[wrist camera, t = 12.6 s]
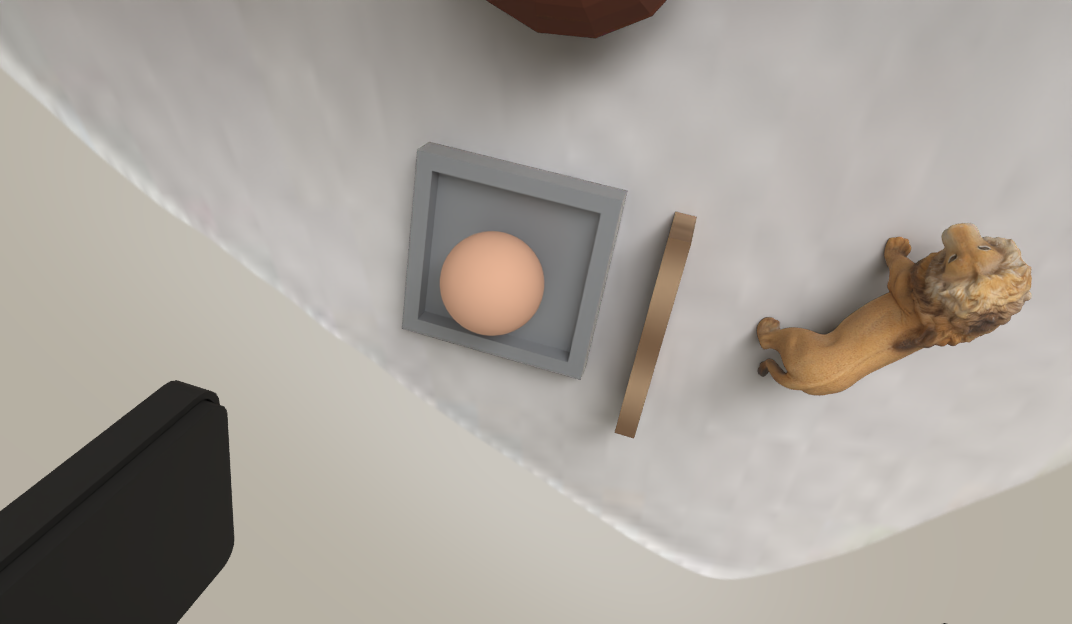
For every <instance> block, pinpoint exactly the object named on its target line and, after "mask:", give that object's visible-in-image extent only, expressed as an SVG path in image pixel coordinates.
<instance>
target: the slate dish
mask: <svg viewBox="0 0 1072 624" xmlns="http://www.w3.org/2000/svg"><path fill="white" fill-rule="evenodd" d="M626 195H627V191H626V190H622V189H618V188H614V187H609V186H605V185H601V184H597V183H593V182H589V181H585V180H581V179H577V178H573V177H569V176H565V175H561V174H557V173H553V172H549V171H545V170H541V169H537V168H533V167H529V166H524V165H520V164H516V163H512V162H508V161H504V160H500V159H496V158H492V157H488V156H484V155H480V154H476V153H472V152H468V151H464V150H460V149H456V148H452V147H448V146H444V145H440V144H435V143H431V142H429V143H427V144H426V145H424V146H422V147H421V148H419V149H418V150H417V160H416V171H415V183H414V195H413V207H412V218H411V230H410V242H409V253H408V265H407V277H406V288H405V300H404V312H403V323H402V329H405V330H409V331H412V332H416V333H419V334H423V335H426V336H430V337H433V338H437V339H440V340H444V341H447V342H450V343H454V344H457V345H461V346H464V347H468V348H471V349H475V350H478V351H482V352H485V353H489V354H492V355H496V356H499V357H502V358H506V359H509V360H513V361H516V362H520V363H523V364H527V365H530V366H534V367H537V368H541V369H544V370H548V371H551V372H554V373H558V374H561V375H565V376H568V377H572V378H575V379H579V380H581V377H582V375H583V372H584V369H585V367H586V364H587V360H588V355H589V351H590V347H591V343H592V338H593V334H594V330H595V326H596V322H597V317H598V313H599V309H600V305H601V301H602V296H603V292H604V288H605V284H606V279H607V275H608V271H609V267H610V263H611V258H612V254H613V250H614V246H615V242H616V237H617V233H618V229H619V225H620V221H621V216H622V212H623V208H624V204H625V199H626ZM486 231H498V232H504V233H507V234H510V235H513V236H515V237H517V238H519V239H520V240H522V241H523V242H524V243H526V244H527V245H528V246H529V247H530V248H531V249H532V250H533V252H534V253H535V255H536V256H537V258H538V259H539V262H540V264H541V266H542V270H543V275H544V293H543V297H542V301H541V303H540V305H539V307H538V309H537V311H536V313H535V314H534V315H533V317H532V318H531V319H530V320H529V321H528V322H527V323H526V324H524V325H523V326H522V327H520V328H519V329H517V330H515V331H512V332H510V333H507V334H503V335H496V336H488V335H481V334H477V333H474V332H472V331H470V330H467V329H466V328H464V327H462V326H461V325H460V324H459V323H457V322H456V321H455V320H454V319H453V317H452V316H451V315H450V314H449V312H448V311H447V309H446V307H445V305H444V303H443V300H442V297H441V292H440V275H441V270H442V267H443V264H444V262H445V260H446V258H447V256H448V254H449V253H450V252H451V250H452V249H453V248H454V247H455V246H456V245H457V244H458V243H460V242H461V241H462V240H464V239H465V238H467V237H469V236H471V235H474V234H477V233H480V232H486Z"/></svg>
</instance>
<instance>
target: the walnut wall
mask: <svg viewBox="0 0 1072 624" xmlns="http://www.w3.org/2000/svg"><path fill="white" fill-rule="evenodd" d="M696 218H697V217H695V216H691V215H687V214H683V213H679V212H675V216H674V219H673V223H672V226H671V230H670V233H669V237H668V241H667V244H666V248H665V251H664V255H663V259H662V262H661V266H660V270H659V273H658V277H657V280H656V284H655V288H654V291H653V295H652V299H651V302H650V306H649V309H648V313H647V317H646V320H645V324H644V328H643V331H642V335H641V339H640V342H639V346H638V349H637V353H636V357H635V360H634V364H633V368H632V371H631V375H630V378H629V382H628V386H627V389H626V393H625V397H624V400H623V404H622V407H621V411H620V415H619V418H618V422H617V426H616V429H615V433H617V434H621V435H624V436H627V437H631V438H634V437H635V433H636V430H637V426H638V423H639V420H640V416H641V413H642V409H643V406H644V403H645V399H646V396H647V392H648V389H649V385H650V382H651V379H652V375H653V372H654V368H655V365H656V362H657V358H658V355H659V351H660V348H661V345H662V341H663V338H664V334H665V331H666V328H667V324H668V321H669V317H670V314H671V311H672V307H673V304H674V300H675V297H676V294H677V290H678V287H679V283H680V280H681V276H682V273H683V270H684V266H685V263H686V259H687V256H688V253H689V249H690V246H691V242H692V237H693V232H694V228H695V223H696Z"/></svg>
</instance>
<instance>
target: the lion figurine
mask: <svg viewBox="0 0 1072 624" xmlns="http://www.w3.org/2000/svg"><path fill="white" fill-rule="evenodd" d="M942 242H943V244H944V246H945V248H944V249H943V250H941V251H940V252H937V253H931V254H930V255H929V256H927V257H926V258H924V259H922V260H920V261H918V262H917V263H916V264H915V263H914V262H912V261H911V260H909V259H908V258H907V255H908V254H909V253H910V251H911V246H910V245H909V240H908V239H904V238H902V237H896V238H889V240H888V242H887V244H886V247H885V252H884V257H885V259H886V264H887V266H888V267H889V271H890V274H889V281H888V285H887V287H888V290H889V293H887V294H885V295H883V296H880V297H878V298H876V299H874V300H872V301H871V302H869V303H867V304H865V305H864V306H862V307H861V308H859V309H858V310H856V311H855V312H853V313H852V314H851V315H849V316H848V317H847V318H846V319H844V320H843V321H842V322H841V323H840V324H839V326H838V327H837V328H836V329H835V330H834V331H832V332H830V333H828V334H825V335H822V334H818V333H815V332H813V331H810V330H807V329H802V328H795V327H794V328H785V329H781V330H780V322H779V321H778V320H775V319H774V318H770V317H766V318H764V319H762V320H761V321H760V322H759V324H758V326H757V336H758V339H759V342H760V345H761V347H762V348H763V349H769V348H771V349H775V350H776V351H778V352H779V353H780V355H781V358H782V361H783V364H784V367H785V368H786V370H787V373H785V372H784V371H783V370H782V369H781V368H780V367H779V366H778V364H777V363H776V362H775V361H774V360H773V359H767V360H766V361H764V362H761V363H760V367H759V368H758V374H759V375H761V376H762V377H764V376H765V375H766V374H767V373H768V372H770V374H771V376H772V377H773V378H774V380H775V381H776V382H778V383H779V384H781V385H782V386H784V387H786V388H789V389H793V390H802V391H803V392H805V393H807V394H810V395H827V394H833V393H838V392H841V391H843V390H846V389H847V388H849V387H851V386H852V385H853V384H855V383H856V382H857V381H859V380H860V379H861V378H863V377H864V376H866V375H868V374H870V373H872V372H874V371H876V370H878V369H880V368H882V367H884V366H886V365H889V364H891V363H893V362H895V361H897V360H899V359H902V358H904V357H906V356H908V355H910V354H912V353H914V352H916V351H918V350H920V349H922V348H930V347H932V346H934V345H938V346H945V345H947V344H948V345H950V346H955V345H957V344H958V343H964V342H971V341H972V340H974V339H975V338H977V337H979V336H982V335H984V334H988V333H990V332H992V331H994V330H995V329H996V328H997V327H998V326H1000V325H1004V324H1006V323H1007V322H1008V321H1009V320H1010V319H1011V316H1012V315H1014V314H1017V313H1018V312H1020V310H1021V308H1022V306H1023V305H1024V303H1025V301H1028V300H1030V299H1031V296H1032V295H1031V293H1030V292H1029V290H1030V288H1031V279H1032V278H1031V275H1030V274H1031V267H1030V266H1028V265H1027V264H1026V263H1025V262H1024V261H1023V260H1022V258H1021V251H1020V250H1019V249H1018V248H1017V246H1016V244H1015V242H1014V241H1013V240H1012V239H1005V238H1000V237H996V238H991V237H983V238H982V237H981V236H980V233H979V230H978V228H977V227H976V226H975V225H974V224H971V223H962V224H955V225H952V226H950V227H949V228H948V229H946V230H944V232H943V233H942Z"/></svg>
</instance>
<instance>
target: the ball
mask: <svg viewBox="0 0 1072 624" xmlns="http://www.w3.org/2000/svg"><path fill="white" fill-rule="evenodd" d="M440 292H441V297H442V300H443V303H444V305H445V307H446V309H447V311H448V312H449V314H450V315H451V316H452V317H453V319H454V320H455V321H456V322H457V323H459V324H460V325H461V326H462V327H464V328H466V329H467V330H470V331H472V332H474V333H477V334H481V335H488V336H496V335H503V334H507V333H510V332H512V331H515V330H517V329H519V328H520V327H522V326H523V325H524V324H526V323H527V322H528V321H529V320H530V319H531V318H532V317H533V315H534V314H535V313H536V311H537V309H538V307H539V305H540V303H541V301H542V297H543V293H544V275H543V270H542V266H541V264H540V262H539V259H538V258H537V256H536V255H535V253H534V252H533V250H532V249H531V248H530V247H529V246H528V245H527V244H526V243H524V242H523V241H522V240H520V239H519V238H517V237H515V236H513V235H510V234H507V233H504V232H498V231H486V232H480V233H477V234H474V235H471V236H469V237H467V238H465V239H464V240H462V241H461V242H460V243H458V244H457V245H456V246H455V247H454V248H453V249H452V250H451V252H450V253H449V254H448V256H447V258H446V260H445V262H444V264H443V267H442V270H441V275H440Z"/></svg>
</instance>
